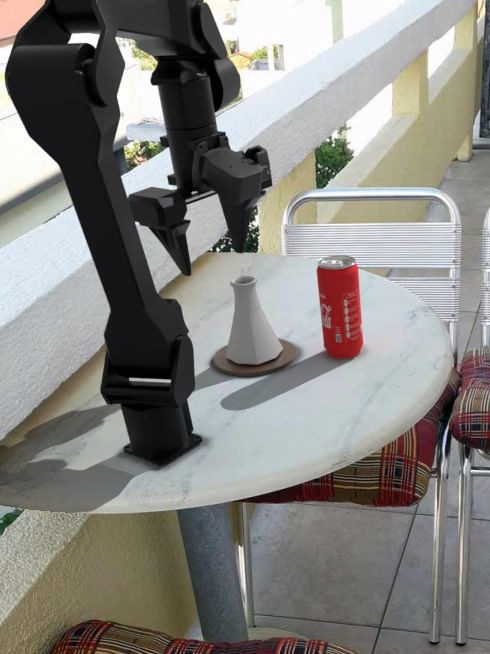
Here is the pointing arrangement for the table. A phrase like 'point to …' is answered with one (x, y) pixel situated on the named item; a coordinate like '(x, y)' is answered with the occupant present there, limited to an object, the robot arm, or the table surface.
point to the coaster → (266, 367)
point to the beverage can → (340, 306)
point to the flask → (250, 327)
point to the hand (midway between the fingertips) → (214, 263)
